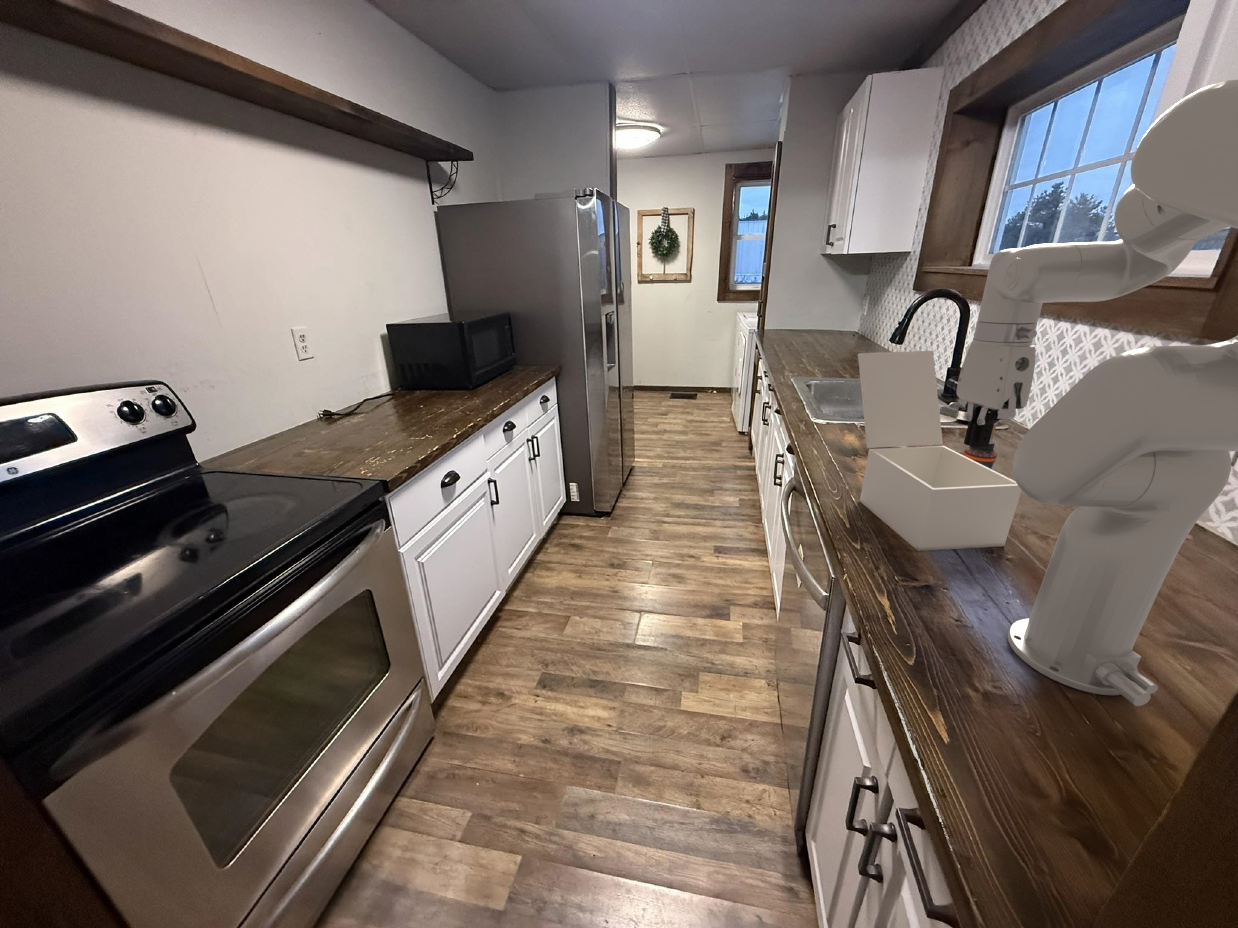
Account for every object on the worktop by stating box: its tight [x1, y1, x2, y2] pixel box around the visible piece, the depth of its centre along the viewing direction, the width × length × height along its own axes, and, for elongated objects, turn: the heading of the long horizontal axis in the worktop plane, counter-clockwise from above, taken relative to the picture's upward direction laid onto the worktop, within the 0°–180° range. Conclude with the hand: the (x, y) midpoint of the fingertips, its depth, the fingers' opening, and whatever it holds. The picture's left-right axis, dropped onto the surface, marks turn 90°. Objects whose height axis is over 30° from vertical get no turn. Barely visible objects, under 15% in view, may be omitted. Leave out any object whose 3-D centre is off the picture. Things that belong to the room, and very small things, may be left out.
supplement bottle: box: [962, 439, 998, 470], centre depth 109 cm, size 6×6×11 cm
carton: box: [859, 445, 1023, 552], centre depth 95 cm, size 20×16×12 cm
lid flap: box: [857, 350, 944, 449], centre depth 103 cm, size 20×16×1 cm
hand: (975, 445), depth 83 cm, fingers closed
